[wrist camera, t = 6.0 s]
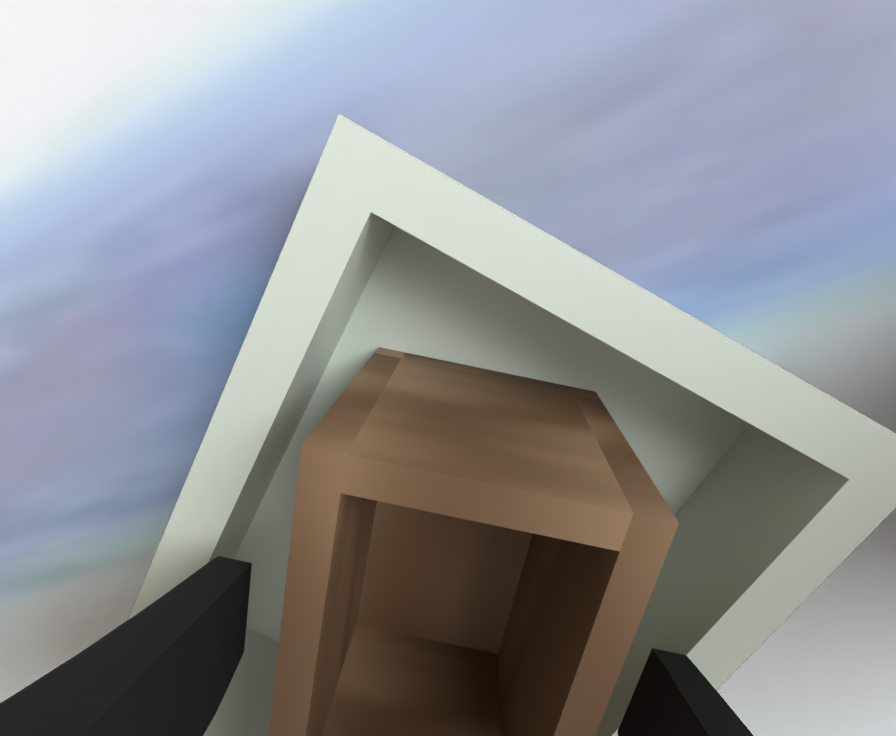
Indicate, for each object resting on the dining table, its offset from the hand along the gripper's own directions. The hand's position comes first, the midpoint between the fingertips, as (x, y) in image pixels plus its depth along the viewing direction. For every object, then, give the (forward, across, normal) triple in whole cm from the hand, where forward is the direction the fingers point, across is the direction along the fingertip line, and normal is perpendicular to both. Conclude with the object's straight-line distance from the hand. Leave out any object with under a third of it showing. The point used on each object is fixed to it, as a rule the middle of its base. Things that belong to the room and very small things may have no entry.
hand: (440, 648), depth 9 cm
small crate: (+4, 0, 0) cm, 4 cm away
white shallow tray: (+4, 0, 0) cm, 4 cm away
